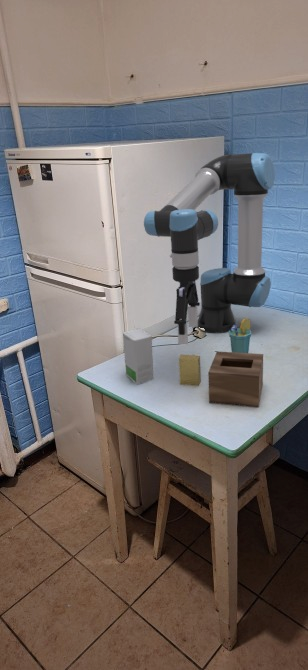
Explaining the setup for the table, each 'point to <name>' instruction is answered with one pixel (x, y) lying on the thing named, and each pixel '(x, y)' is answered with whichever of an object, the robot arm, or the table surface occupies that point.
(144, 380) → the skincare box
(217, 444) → the table surface
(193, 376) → the block
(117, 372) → the table surface
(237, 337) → the cup
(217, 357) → the coin box
